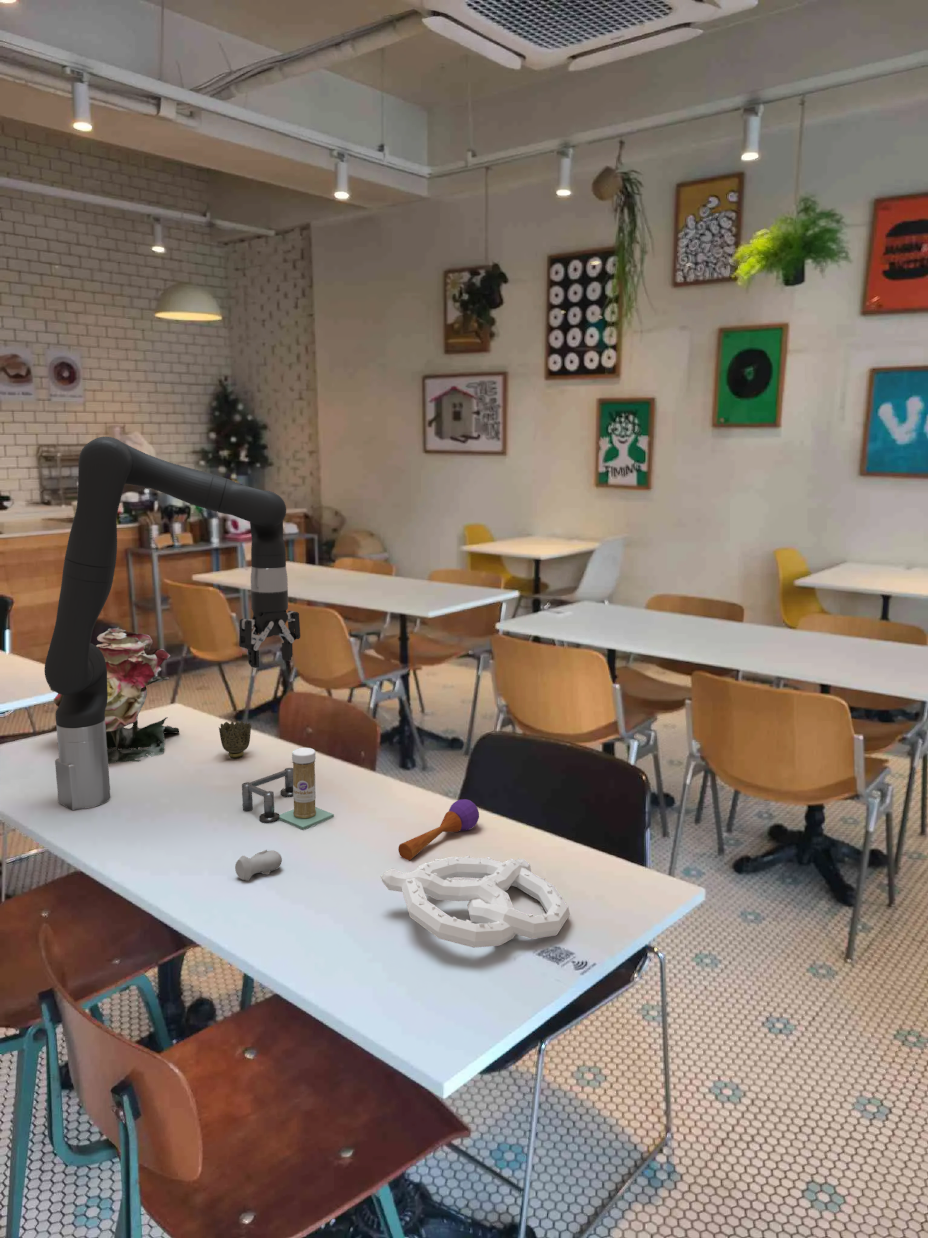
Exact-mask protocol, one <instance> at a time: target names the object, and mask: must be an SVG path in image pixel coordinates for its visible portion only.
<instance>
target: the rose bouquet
mask: <svg viewBox="0 0 928 1238" xmlns="http://www.w3.org/2000/svg"><path fill="white" fill-rule="evenodd" d="M96 639H97V641H98V642H99V643H101V644H97V645H95V646H97V647H98V648H99V649H100V651H101V652H102V654H103V656H104V658H105V662H106V667H107V692H108V700H107V706H106V709H105V725H106V740H107V753H108V765H110V764H115V763H123V762H127V763H128V762H132V763H133V762H134V763H135V762H141V759H139V758H148V757H151V758H152V757H156V756H161V755H164V753H165V746H166V744H165V734H171V733H172V734H173V733H175V734H180V729H179V728H178V727H173V726H170V725H166V726H164V725H165V721H167V719H168V718H169V717H168V716H165V717H164V718H163V719H162V720H159V721H156V722H153V723H150V724H148V725H146V726H143V727H139V726H138V724H139V722H138V719H139V714H140V712H141V710H142V708H143V706H144V705H145V701H146V699H147V696H148V689H147V686H149V685H151V684H154V683H160V682H162V681H163V680H164V681H165V680H168V681H169V680H170V678H169V677H168V676H162V675H159V674H160V673H161V672H162V671H161V670H163V668H162V667H161V665H163V663H164V662H165V661H167V659H169V658H170V657H171V655H170V654H169V652H167V651H166V650H165V649H164V648H156V649H154V650H151V646H152V644H153V639H152V638H151V636H150V634H149V635H148V634H144V633H137V632H135V631H134V632H133V631H132V632H131V631H127V630H126V629H122V628H120V626H117V628H108V629H107V630H106V631H105V632H103V633H100V634H98V636H97V637H96ZM48 686H49V685H48ZM48 688H49V690H50V691H52V692H55V691H53V690H52V689H51V687H50V686H49V687H48ZM55 693H56V692H55ZM62 698H63V695H62V694H58V693H57V694H56V696H55V698H53V702H54V704H55V705H56V707H57V708H58V707H59V705H60V703H61V701H62ZM129 725H132V726H131V727H130V728H128V727H126V726H129ZM141 748H142V749H141Z"/></svg>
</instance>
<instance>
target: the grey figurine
mask: <svg viewBox="0 0 928 1238" xmlns="http://www.w3.org/2000/svg"><path fill="white" fill-rule="evenodd" d="M282 861H283V858H282V856H281V854H280V852H278V851H276V850H268V849H265V850H263V851H260V852H257V853H255V854H254V855H253V856H251V857H247V856H246V855H242V856H240V857H239V859H238V860H237V861H236V862H235V865H234V869H235V873H236V875H237V877H238V878H239V879H240V880H242V881H246V882H249V880H251V878H252V876H253V875H255V874H258V873H260V874H261V873H262V874H263V875H269V874H271V872H273V871H276V870H277V869H278V868H280V867H281V865H282Z"/></svg>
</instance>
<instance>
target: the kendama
mask: <svg viewBox="0 0 928 1238" xmlns="http://www.w3.org/2000/svg"><path fill="white" fill-rule="evenodd" d="M479 819H480V812H479V809H478V807H477V805H476V804H475V803H474V802H473V801H471V800H470V799H467V798H466V799H465V798H464V799H463V798H462V799H458V800H456V801H454V802H453V803H452V804H451V805H450V807H449V809H448V811H447V812H446V813H445V815H444V817H443V819H442V821H441V823H440V826H437V827H436V828H433V829H432V830H429V831H427V832H424V833H422V834H420V835H418V836H415V837H413V838H410V839H409V840H406V841H404V842H402V843H400V844H399V846H398V848H397V849H398V853H399V856H400V857H401V859H404V860H406V861H408V862H409V861H411V860H412V859H414V857H415V856H417V855H418V854H419V853H420V852H422V850H424V849H425V847H427V846H429V844H431V843H432V842H433V841H434V840H435V839H436V838H437V837H438V836H439V835H441V834H442V833H444V832H445V833H458V832H461V831H462V832H463V831H469V830H472V829H473V828H475V827H476V825H477V823H478V821H479Z"/></svg>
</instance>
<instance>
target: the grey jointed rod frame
mask: <svg viewBox="0 0 928 1238" xmlns="http://www.w3.org/2000/svg"><path fill="white" fill-rule="evenodd" d="M280 778H284V788H282V789H281V790H280V796H281V797H283V798H293V767H286V768H285V769H284V770H282V771H279V772H276V773H272V774H270V775H267V776H265V777H261V778H259V779H256V780H253V781H249V782H247V781H246V782H243V783H241V796H242V797H241V799H242V800H241V801H242V812H252V811H253V809H254V805H253V801H254V800H253V794H256V795H258V796H260V797H263V813H261V814H260V815H259V817H258V819H259V822H261V823H262V824H273V823H277V822H279V821H280V820H279V816H280V814H279V813H278V812H275V792H274V791H272V790H265V789H263V788H260V787H259V786H261V785H264V784H267V783H269V782H272V781H276V780H278V779H280Z"/></svg>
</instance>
